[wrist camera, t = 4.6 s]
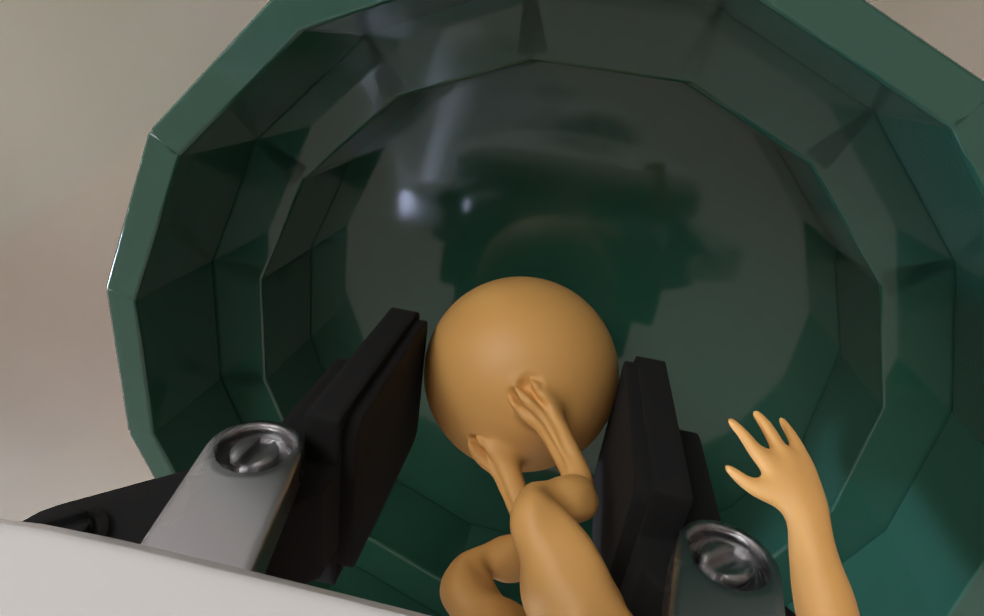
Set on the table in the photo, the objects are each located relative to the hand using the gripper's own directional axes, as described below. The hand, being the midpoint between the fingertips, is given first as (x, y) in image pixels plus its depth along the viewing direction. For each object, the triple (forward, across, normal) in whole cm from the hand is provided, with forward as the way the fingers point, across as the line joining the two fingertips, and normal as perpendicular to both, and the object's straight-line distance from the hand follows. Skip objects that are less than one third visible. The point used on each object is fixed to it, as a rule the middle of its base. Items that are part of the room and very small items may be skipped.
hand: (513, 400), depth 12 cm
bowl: (+3, -1, 0) cm, 3 cm away
